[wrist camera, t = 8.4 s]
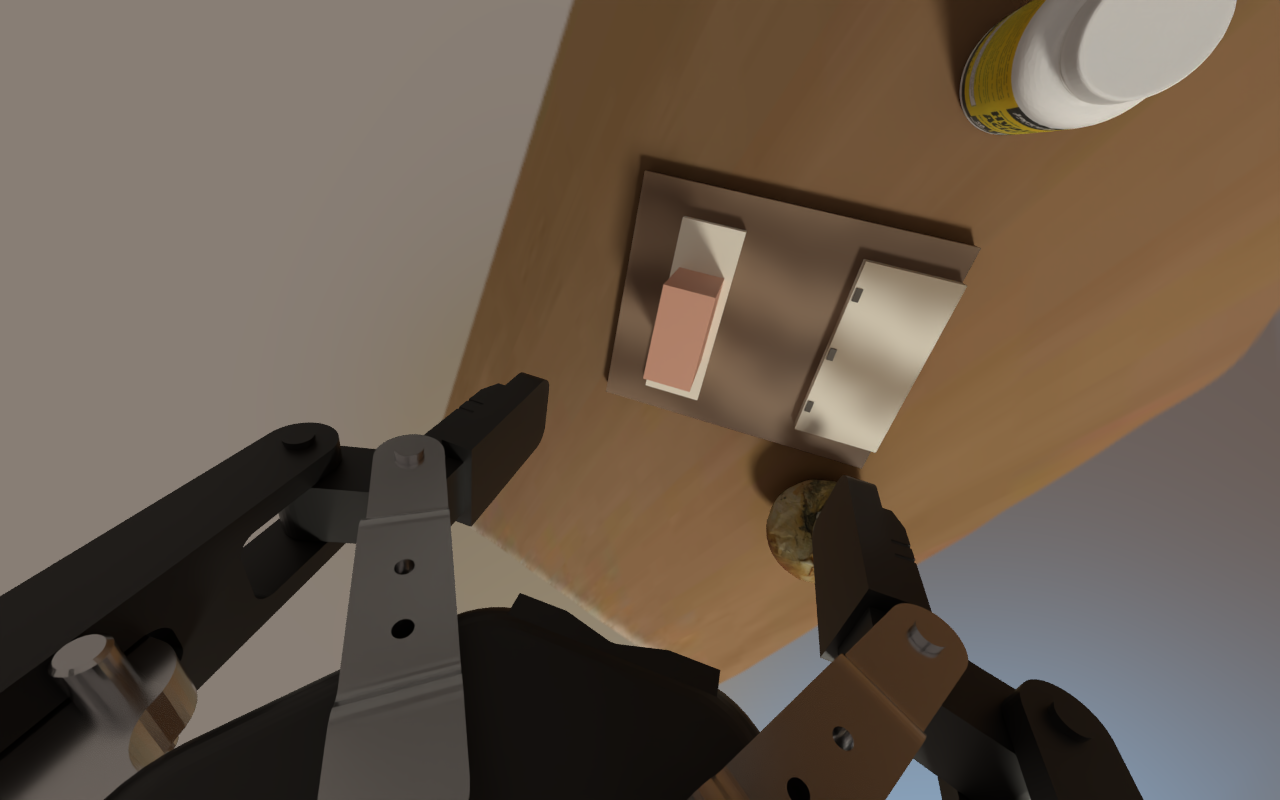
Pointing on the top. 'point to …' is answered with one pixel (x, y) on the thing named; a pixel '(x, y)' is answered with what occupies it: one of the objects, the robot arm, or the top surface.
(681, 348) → the pink and white block
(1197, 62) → the supplement bottle
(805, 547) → the onion
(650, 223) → the board
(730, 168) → the top surface
